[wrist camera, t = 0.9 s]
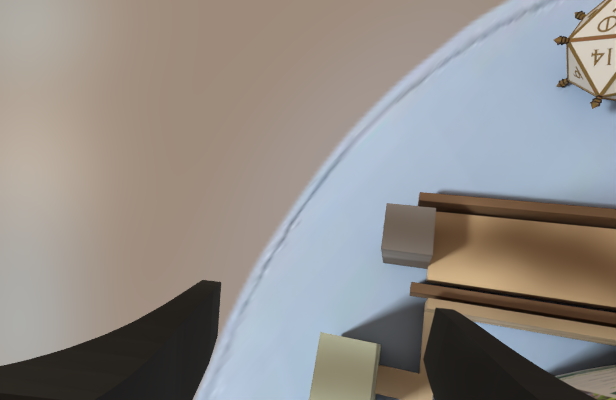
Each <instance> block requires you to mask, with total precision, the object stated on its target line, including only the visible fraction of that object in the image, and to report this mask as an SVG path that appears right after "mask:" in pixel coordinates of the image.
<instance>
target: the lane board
mask: <svg viewBox="0 0 616 400" xmlns="http://www.w3.org/2000/svg"><path fill="white" fill-rule="evenodd" d="M418 206H420V207H431V208H436V212H446V213H456V214H466V215H476V216H487V217H497V218H507V219H517V220H527V221H537V222H547V223H558V224H568V225H578V226H588V227H598V228H608V229H616V209H609V208H597V207H585V206H574V205H562V204H550V203H539V202H527V201H515V200H504V199H492V198H480V197H469V196H457V195H445V194H434V193H422V192H420V195H419V202H418ZM410 296H415V297H421V298H427V299H428V298H432V299H439V300H445V301H451V302H457V303H463V304H470V305H476V306H482V307H488V308H494V309H501V310H507V311H513V312H519V313H525V314H532V315H538V316H544V317H550V318H556V319H562V320H569V321H575V322H581V323H587V324H593V325H600V326H606V327H612V328H616V313H612V312H605V311H599V310H592V309H586V308H579V307H572V306H566V305H559V304H553V303H546V302H540V301H533V300H526V299H520V298H513V297H507V296H500V295H494V294H487V293H480V292H474V291H467V290H461V289H454V288H447V287H441V286H434V285H428V284H421V283H415V282H411V287H410Z"/></svg>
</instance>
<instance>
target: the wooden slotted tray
mask: <svg viewBox="0 0 616 400" xmlns="http://www.w3.org/2000/svg"><path fill="white" fill-rule="evenodd" d="M436 308H445V309H453V310H456V311H457V312H459V313H461V314H462V315H464V316H465V317H467V318H468V319H470V320H471V321H474V322H480V323H485V324H491V325H497V326H503V327H509V328H514V329H520V330H526V331H532V332H537V333H543V334H549V335H555V336H561V337H566V338H572V339H578V340H584V341H589V342H595V343H601V344H607V345H613V346H616V328H612V327H606V326H600V325H593V324H587V323H581V322H575V321H569V320H562V319H556V318H550V317H544V316H538V315H532V314H525V313H519V312H513V311H507V310H501V309H494V308H488V307H482V306H476V305H470V304H463V303H457V302H451V301H445V300H439V299H432V298H428V299H427V301H426V302H425V307H424V320H423V332H422V345H421V358H420V371H419V373H415V372H411V371H406V370H401V369H397V368H392V367H388V366H383V365H379V361H380V352H381V345H380V344H376V343H371V342H366V341H361V340H357V339H352V338H347V337H342V336H337V335H332V334H327V333H322V332H320V338H319V344H318V350H317V356H316V362H315V368H314V374H313V380H312V385H311V391H310V397H309V400H375V396H376V394H380V395H384V396H388V397H392V398H397V399H401V400H433V393H432V390H431V387H430V384H429V380H428V377H427V373H426V369H425V365H424V361H423V358H424V354H425V350H426V345H427V341H428V337H429V333H430V329H431V325H432V321H433V317H434V313H435V309H436Z"/></svg>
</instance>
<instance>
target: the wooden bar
mask: <svg viewBox="0 0 616 400" xmlns="http://www.w3.org/2000/svg"><path fill="white" fill-rule="evenodd" d="M381 251H382V257H383V263H389V264H396V265H403V266H410V267H417V268H424V269H427V281H426V282H430V283H437V284H443V285H450V286H457V287H463V288H470V289H476V290H483V291H490V292H496V293H503V294H510V295H516V296H523V297H530V298H536V299H543V300H550V301H556V302H563V303H570V304H576V305H583V306H590V307H596V308H603V309H610V310H616V229H608V228H598V227H588V226H578V225H568V224H558V223H547V222H537V221H527V220H517V219H507V218H497V217H487V216H476V215H466V214H456V213H446V212H436V208H431V207H420V206H410V205H399V204H389V203H387V206H386V214H385V222H384V230H383V238H382V246H381Z"/></svg>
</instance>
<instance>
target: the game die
mask: <svg viewBox="0 0 616 400" xmlns="http://www.w3.org/2000/svg"><path fill="white" fill-rule="evenodd" d="M575 18H577V19H579V20H581V22H580V23H579V24H578V26H577V27H576V28H575V30H574V31H573V32H572V34H571V35H570V36H569V38H567V37H564V36H563V37H562V36H559V37H558V38H556V39H554V41H555V42H556V43H557V45H559V44H561V45H563V44H566V45H567V79H562V80H561V81H559V83H558V85H557V86H556V87H564V86H566V85H567V83H569V82H570V83H572V84H574V85H576V86H577V87H579V88H581V89H583V90H585V91H586V92H588V93H590V94H592V95H594V96H595V97H596V98H594V99H593V101H592V102H590V103H591V106H592V109H593V108H595V107H597V106H600V103H602V100H601V99H607V100H614V101H616V0H604V1H603V2H602V3H600V4H599V5H598V6H597V7H595V8H594V9H593V10H592V11H591V12H589V13H588V14H587V15H585V12H584V13H583V11H580V12H576V13H575Z"/></svg>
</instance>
